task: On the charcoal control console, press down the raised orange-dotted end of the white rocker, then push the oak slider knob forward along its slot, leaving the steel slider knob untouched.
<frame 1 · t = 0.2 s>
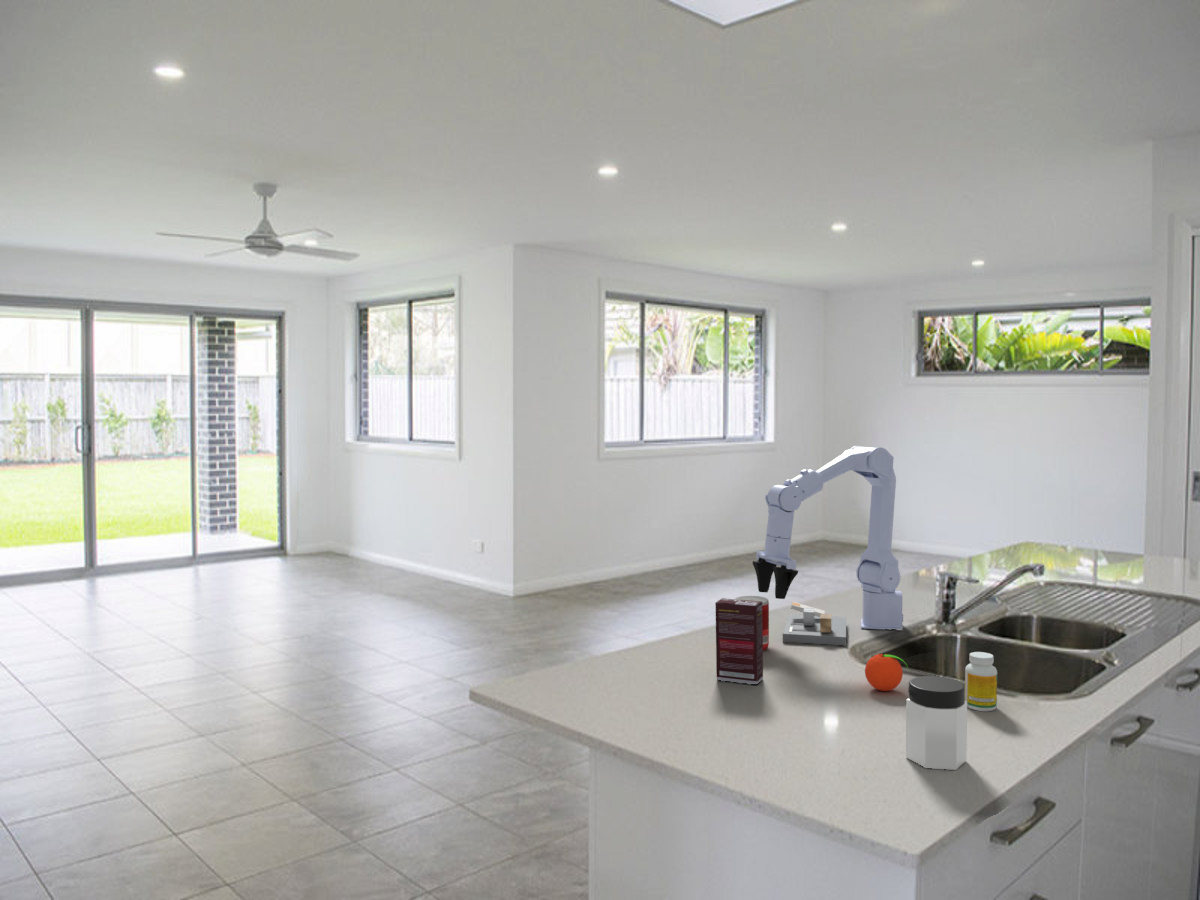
hand: (771, 595, 212), 10 cm above the worktop, tool pointing down, fingers open, 7 cm apart
oak slider: (825, 623, 211), point 4 cm above the worktop, slide at 0.0 cm
supplement box: (739, 681, 182), on the worktop
steel slider: (809, 616, 217), point 4 cm above the worktop, slide at 0.0 cm
console: (815, 633, 217), on the worktop
jar: (935, 760, 142), on the worktop
rocker: (807, 609, 223), point 4 cm above the worktop, hinge at -14.0°
clementine: (886, 691, 175), on the worktop
canned food: (751, 648, 206), on the worktop
supplement bottle: (980, 708, 165), on the worktop
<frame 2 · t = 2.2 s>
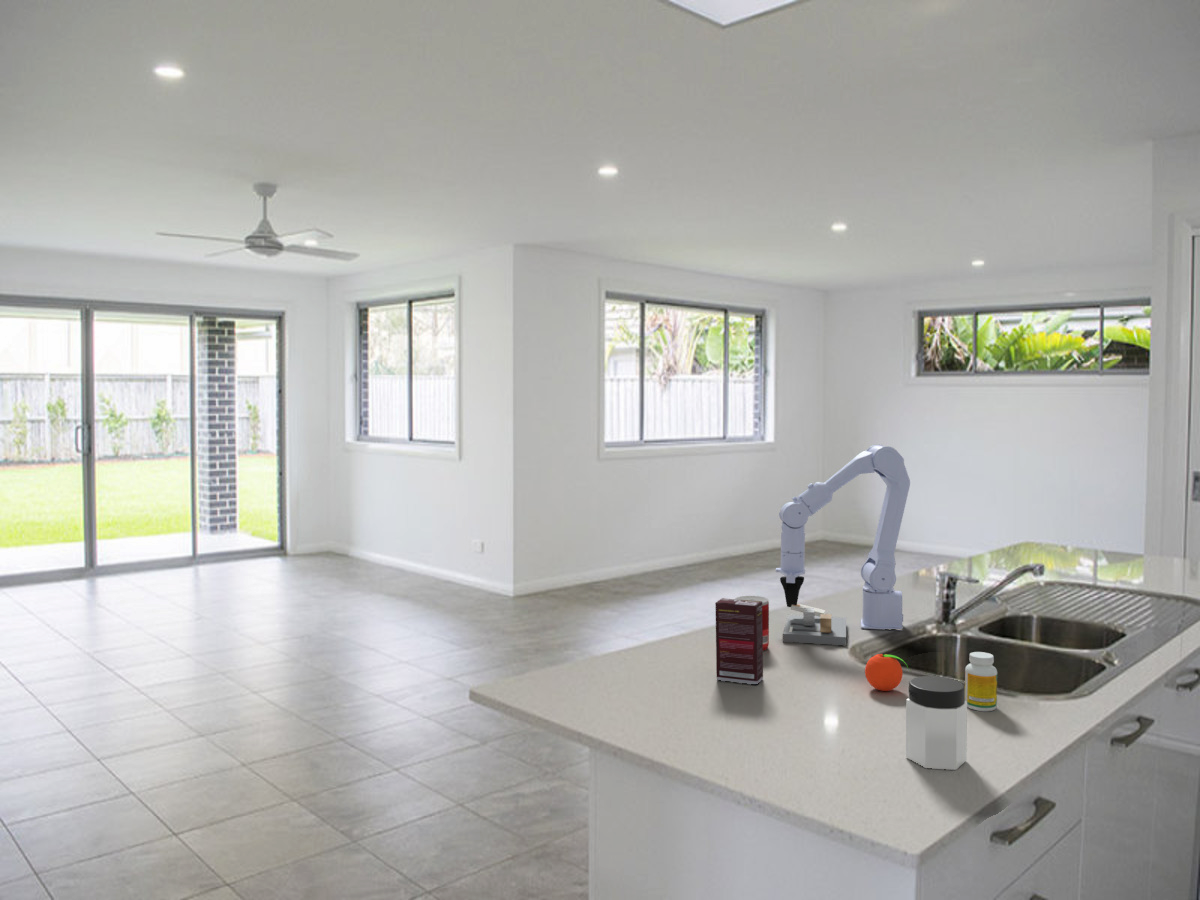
hand: (791, 606, 224), 5 cm above the worktop, tool pointing down, fingers closed, pressing on rocker
rocker: (807, 609, 223), point 4 cm above the worktop, hinge at -11.5°, touching gripper
everything else where it was.
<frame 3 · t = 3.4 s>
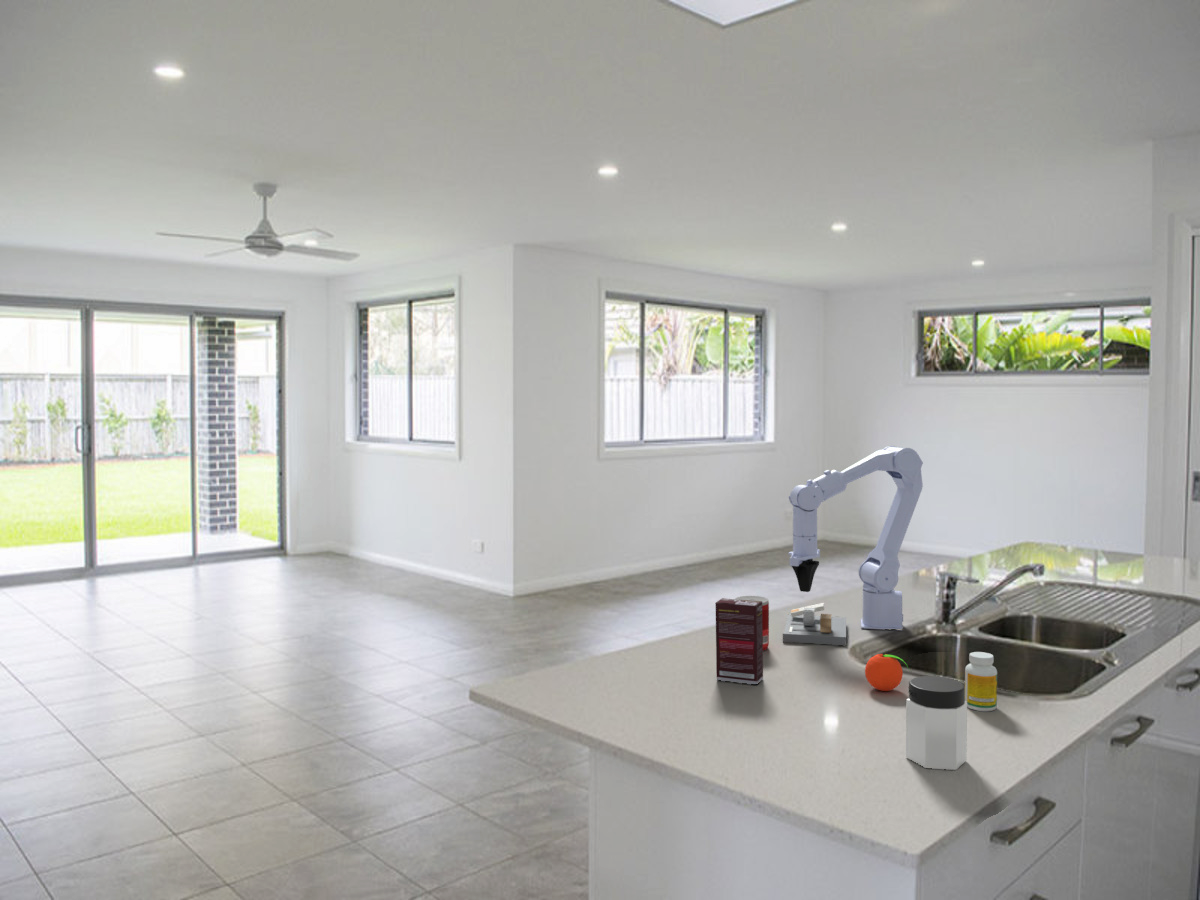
hand: (805, 591, 220), 9 cm above the worktop, tool pointing down, fingers closed
rocker: (807, 609, 223), point 4 cm above the worktop, hinge at 15.5°
everything else where it was.
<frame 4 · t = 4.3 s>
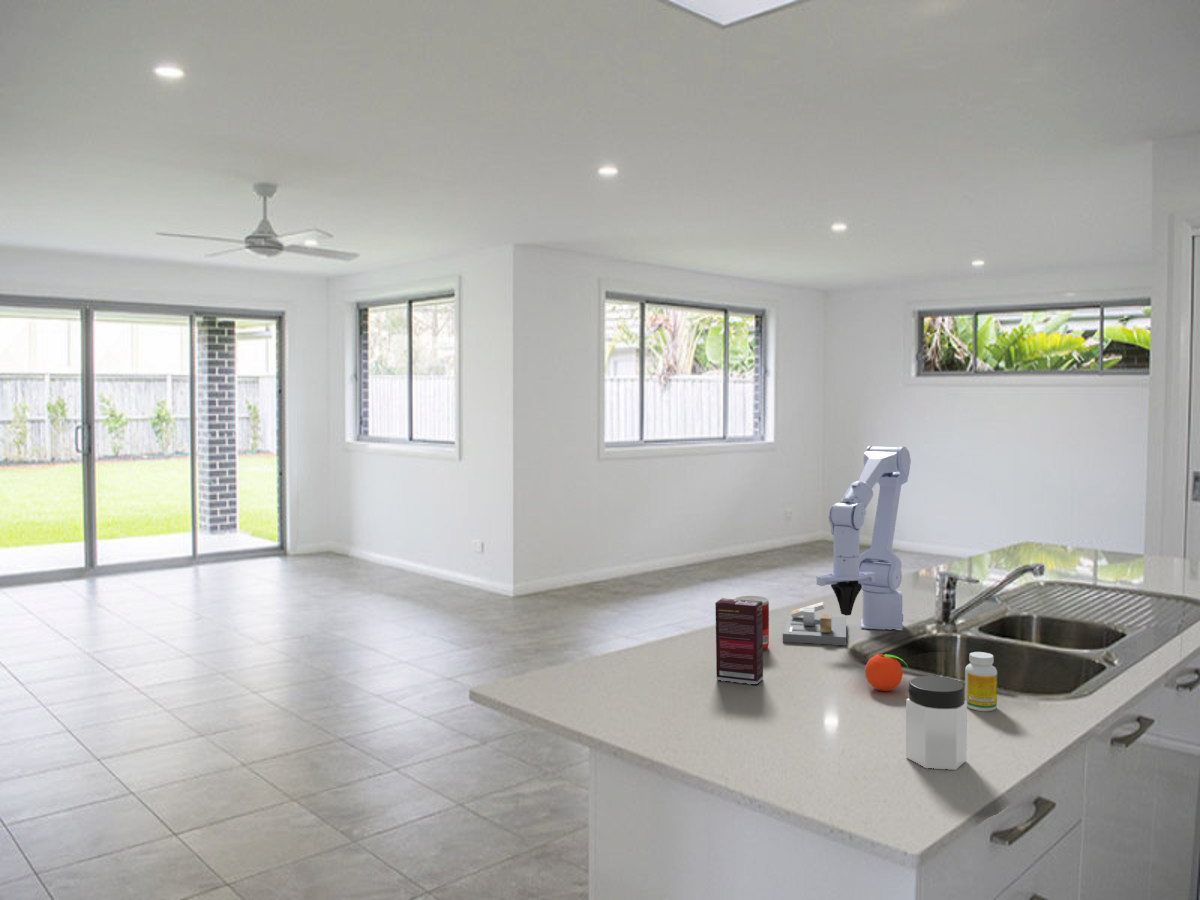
hand: (845, 614, 209), 6 cm above the worktop, tool pointing down, fingers closed
rocker: (807, 609, 223), point 4 cm above the worktop, hinge at 19.7°
everything else where it was.
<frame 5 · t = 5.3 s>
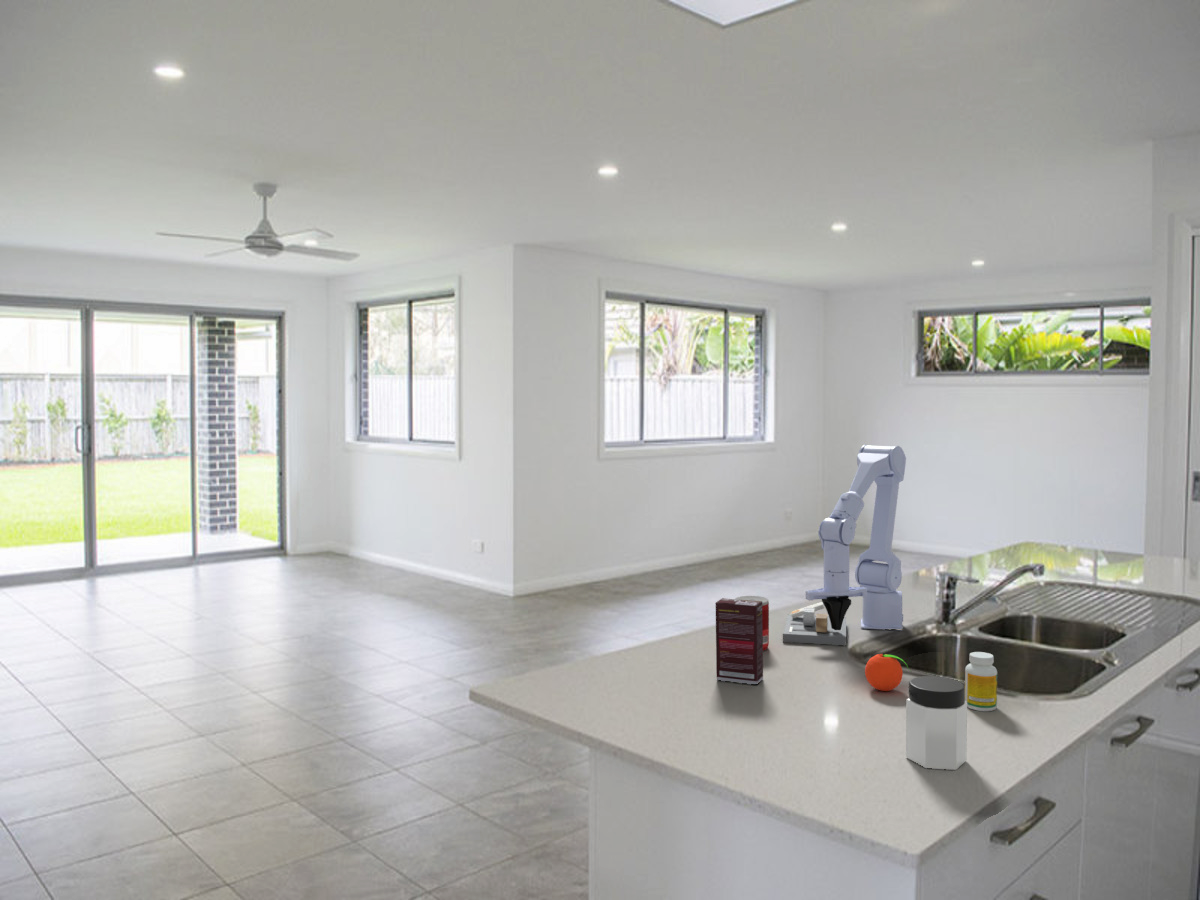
hand: (836, 629, 210), 3 cm above the worktop, tool pointing down, fingers closed
oak slider: (821, 622, 211), point 4 cm above the worktop, slide at 0.9 cm, touching gripper
rocker: (807, 609, 223), point 4 cm above the worktop, hinge at 21.0°
everything else where it was.
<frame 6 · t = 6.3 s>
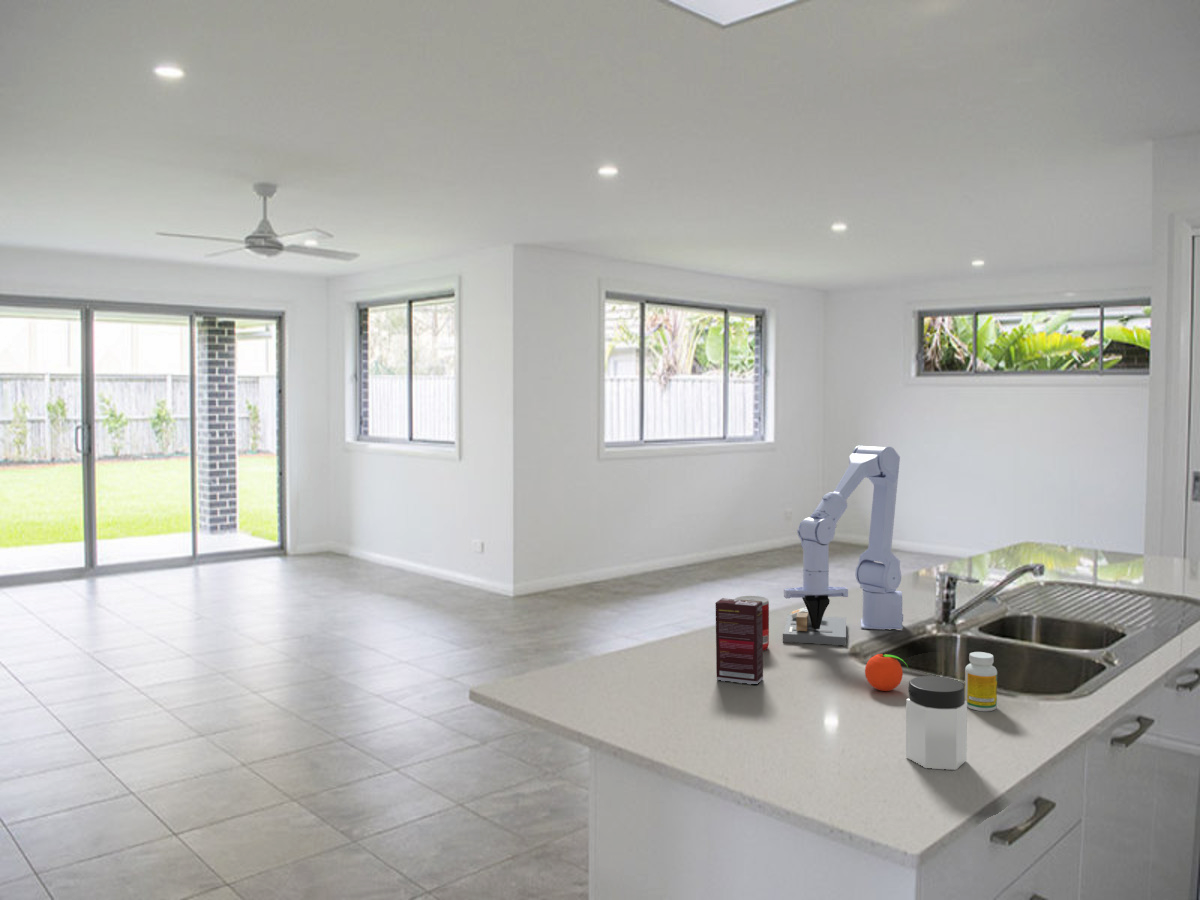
hand: (815, 628, 211), 3 cm above the worktop, tool pointing down, fingers closed
oak slider: (802, 621, 212), point 4 cm above the worktop, slide at 5.3 cm, touching gripper
rocker: (807, 609, 223), point 4 cm above the worktop, hinge at 21.3°
everything else where it was.
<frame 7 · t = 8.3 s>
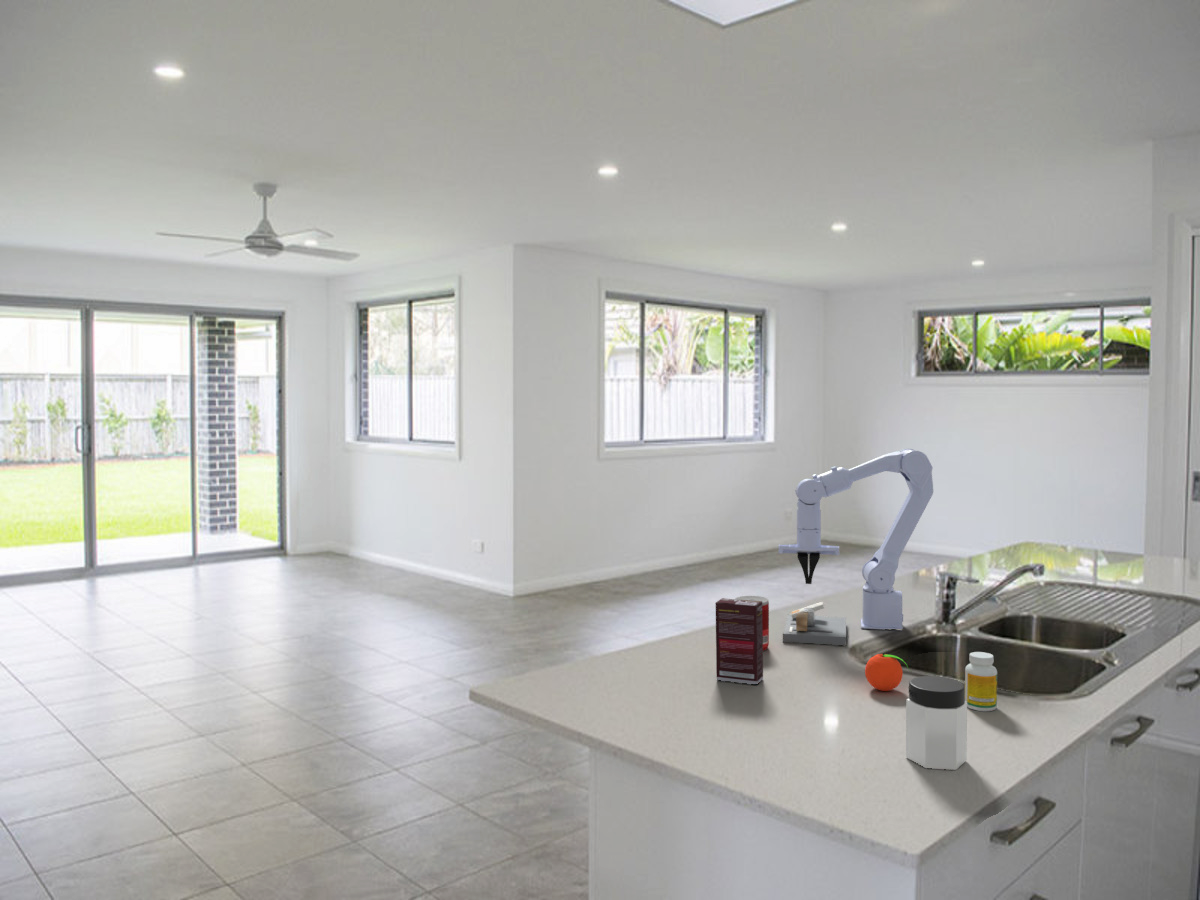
hand: (808, 583, 225), 10 cm above the worktop, tool pointing down, fingers closed
oak slider: (802, 621, 212), point 4 cm above the worktop, slide at 5.4 cm
everything else where it was.
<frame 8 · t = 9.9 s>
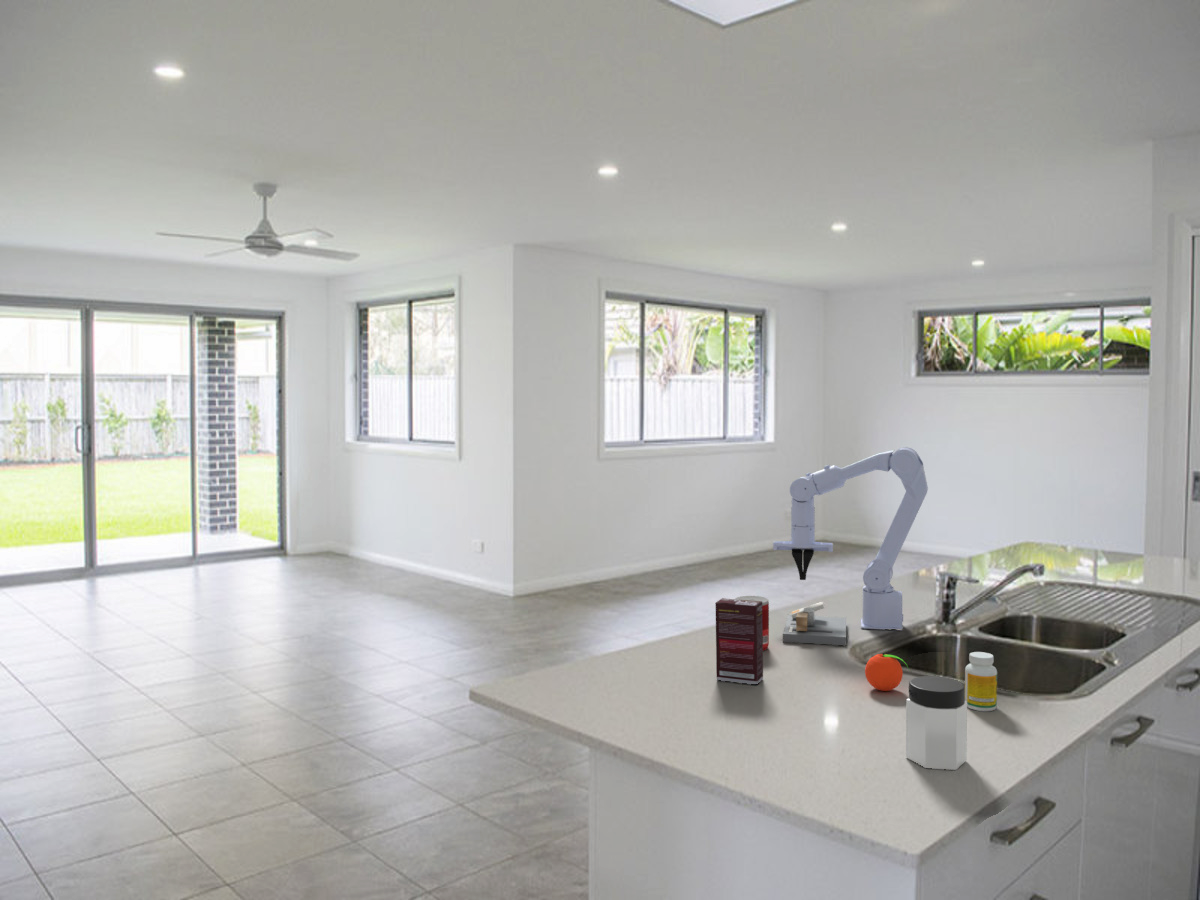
hand: (802, 579, 229), 10 cm above the worktop, tool pointing down, fingers closed
nothing on the worktop moved.
at the end: rocker at +21° (first picture: -14°); oak slider slide at 5.4 cm; steel slider slide at 0.0 cm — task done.
